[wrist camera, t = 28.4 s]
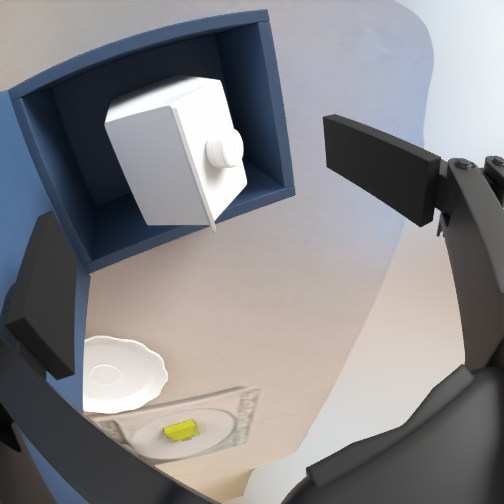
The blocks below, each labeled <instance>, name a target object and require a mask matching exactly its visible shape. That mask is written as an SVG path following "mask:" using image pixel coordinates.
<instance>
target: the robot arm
mask: <svg viewBox="0 0 504 504" xmlns="http://www.w3.org/2000/svg"><path fill="white" fill-rule="evenodd" d="M323 125H324V137H325V150H326V163H327V167H328V168H329V169H331V170H333V171H334V172H336V173H338V174H339V175H341V176H343V177H344V178H346V179H348V180H349V181H351V182H353V183H354V184H356V185H357V186H359V187H361V188H362V189H364V190H365V191H367V192H369V193H370V194H372V195H373V196H375V197H376V198H378V199H379V200H381V201H382V202H384V203H385V204H387V205H388V206H390V207H391V208H393V209H394V210H396V211H397V212H399V213H400V214H402V215H403V216H405V217H406V218H408V219H409V220H411V221H412V222H413V223H415V224H416V225H418V226H419V227H422V226H424V225H426V224H428V223H429V222H431V221H433V215H434V209H435V208H437V209H438V210H440V211H441V214H440V220H439V225H438V230H437V236H439V235H440V232H442V231H443V237H444V238H445V242H446V246H447V250H448V254H449V259H450V263H451V268H452V272H453V277H454V282H455V287H456V293H457V298H458V304H459V310H460V317H461V323H462V331H463V339H464V348H465V365H463V364H462V365H460V366H459V367H458V368H457V369H456V370H455V371H453V372H452V373H451V374H450V375H449V376H447V377H446V378H445V379H444V380H443V381H441V382H440V383H439V384H438V385H436V386H435V387H434V388H433V389H432V390H431V392H430V393H429V394H428V395H427V397H426V398H425V399H424V401H423V402H422V403H421V404H420V406H419V407H418V408H417V409H416V411H415V412H414V413H413V414H412V416H411V417H410V418H409V419H408V420H407V422H406V423H404V424H403V425H402V426H400V427H397V428H395V429H393V430H390V431H387V432H384V433H381V434H378V435H375V436H373V437H370V438H367V439H363V440H360V441H357V442H354V443H352V444H350V445H348V446H346V447H344V448H343V449H341V450H339V451H337V452H336V453H334V454H332V455H330V456H328V457H326V458H324V459H322V460H321V461H319V462H317V463H315V464H313V465H311V466H309V467H307V468H306V474H307V476H306V477H305V478H304V479H303V480H302V481H301V482H299V483H298V484H297V485H296V486H295V487H294V488H293V489H292V490H291V491H290V493H288V495H287V496H286V497H285V499H284V500H283V501H282V503H281V504H504V209H503V208H504V159H503V158H501V157H498V156H487V157H486V158H485V165H484V168H478V167H477V166H476V165H475V164H474V163H473V162H471V161H468V160H466V159H463V158H462V159H461V158H453V159H450V160H448V162H446V161H444V160H442V159H441V157H439V156H437V155H435V154H433V153H431V152H429V151H427V150H424V149H422V148H420V147H418V146H416V145H413V144H411V143H409V142H406V141H404V140H402V139H399V138H397V137H395V136H392V135H390V134H387V133H385V132H382V131H380V130H377V129H375V128H372V127H369V126H367V125H364V124H361V123H359V122H356V121H353V120H350V119H348V118H345V117H342V116H339V115H336V114H334V115H329V116H325V117H323ZM77 267H78V258H77V256H76V254H75V253H74V251H73V249H72V247H71V245H70V243H69V242H68V240H67V238H66V236H65V234H64V232H63V230H62V228H61V226H60V225H59V223H58V221H57V219H56V217H55V215H54V213H53V211H52V210H51V211H49V212H46V213H44V214H42V215H40V216H38V218H37V220H36V223H35V226H34V228H33V231H32V234H31V236H30V239H29V242H28V245H27V248H26V250H25V253H24V256H23V259H22V262H21V266H20V269H19V272H18V275H17V279H16V282H15V283H14V284H12V286H11V287H10V289H9V291H8V292H7V294H6V296H5V300H4V303H3V307H2V311H1V314H2V315H0V504H58V503H57V502H56V500H55V498H54V497H53V495H52V493H51V492H50V490H49V488H48V486H47V485H46V483H45V481H44V479H43V477H42V476H41V474H40V472H39V470H38V468H37V466H36V464H35V462H34V460H33V458H32V456H31V454H30V452H29V450H28V448H27V445H26V443H25V441H24V439H23V437H22V434H21V432H20V430H19V428H20V429H21V431H22V432H23V433H24V435H25V436H26V437H27V438H28V439H29V441H30V442H31V443H32V444H33V446H34V447H35V448H36V449H37V450H38V451H39V453H40V454H41V455H42V456H43V457H44V458H45V459H46V460H47V462H48V463H49V464H50V465H51V466H52V467H53V468H54V469H55V470H56V471H57V472H58V473H59V474H60V475H61V476H62V478H63V479H64V480H65V481H66V482H67V483H68V484H69V485H70V486H72V487H73V488H74V489H75V490H76V491H77V492H78V493H79V494H80V495H81V496H82V497H83V498H84V499H85V500H86V501H87V502H89V503H90V504H221V503H219V502H217V501H215V500H213V499H211V498H209V497H207V496H205V495H203V494H202V493H200V492H198V491H196V490H194V489H192V488H190V487H189V486H187V485H185V484H183V483H181V482H180V481H178V480H176V479H175V478H173V477H171V476H169V475H168V474H166V473H165V472H163V471H161V470H160V469H158V468H156V467H155V466H153V465H152V464H150V463H149V462H147V461H146V460H144V459H143V458H141V457H140V456H138V455H137V454H135V453H134V452H132V451H131V450H129V449H128V448H127V447H125V446H124V445H122V444H121V443H120V442H118V441H117V440H116V439H114V438H113V437H111V436H110V435H109V434H108V433H106V432H105V431H104V430H102V429H101V428H100V427H99V426H97V425H96V424H95V423H93V422H92V421H91V420H90V419H89V418H87V417H86V416H85V415H84V414H83V413H81V412H80V411H79V410H78V409H77V408H76V407H74V406H73V405H72V404H71V403H70V402H69V401H68V400H66V399H65V398H64V397H63V396H62V395H61V394H60V393H59V392H58V391H57V390H56V389H54V388H53V387H52V386H51V385H50V384H49V383H48V382H47V381H46V372H47V371H48V372H49V373H50V374H51V375H52V376H53V377H54V378H55V379H56V380H60V379H63V378H66V377H69V376H72V375H75V348H74V329H75V296H76V280H77Z"/></svg>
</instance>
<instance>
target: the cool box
mask: <svg viewBox="0 0 504 504" xmlns="http://www.w3.org/2000/svg"><path fill="white" fill-rule="evenodd" d="M174 75H185V76H194V77H201V78H209V79H215V80H220V82H221V84H222V87H223V90H224V94H225V98H226V101H227V105H228V109H229V112H230V116H231V120H232V124H233V128H234V129H235V130H237V131H238V132H239V134H240V136H241V138H242V142H243V156H242V162H243V166H244V170H245V175H246V179H247V185H246V186H245V187H244V188H243V190H242V191H241V192H240V193H239V194H238V195H237V196H236V197H235V198H234V200H233V201H232V202H231V203H230V204H229V205H228V206H227V207H226V209H225V210H224V211H223V212H222V213H221V214H220V215H219V216H218V218H217V219H216V220H215V221H214V222H215V224H217V223H219V222H222V221H225V220H227V219H230V218H233V217H236V216H238V215H241V214H244V213H247V212H249V211H252V210H255V209H258V208H260V207H263V206H266V205H269V204H272V203H274V202H277V201H280V200H283V199H286V198H289V197H292V196H294V195H296V194H295V186H294V177H293V169H292V161H291V154H290V146H289V139H288V132H287V125H286V118H285V111H284V104H283V97H282V91H281V85H280V78H279V72H278V66H277V60H276V54H275V48H274V43H273V37H272V32H271V26H270V22H269V15H268V10H267V9H264V10H254V11H246V12H238V13H231V14H225V15H219V16H213V17H207V18H202V19H197V20H192V21H188V22H183V23H179V24H174V25H170V26H166V27H162V28H159V29H155V30H151V31H148V32H144V33H141V34H137V35H134V36H131V37H128V38H125V39H122V40H119V41H116V42H113V43H110V44H107V45H104V46H102V47H99V48H96V49H94V50H91V51H88V52H86V53H83V54H81V55H78V56H76V57H74V58H71V59H69V60H67V61H64V62H62V63H60V64H58V65H56V66H53V67H51V68H49V69H47V70H45V71H43V72H41V73H39V74H37V75H35V76H33V77H31V78H29V79H27V80H25V81H23V82H22V83H20V84H18V85H16V86H14V87H12V88H11V89H9V90H8V93H9V96H10V99H11V103H12V106H13V109H14V112H15V115H16V118H17V121H18V124H19V126H20V129H21V132H22V135H23V137H24V140H25V143H26V145H27V148H28V150H29V153H30V155H31V158H32V160H33V163H34V165H35V168H36V170H37V172H38V175H39V177H40V179H41V182H42V184H43V186H44V188H45V190H46V193H47V195H48V197H49V199H50V201H51V203H52V205H53V208H54V210H55V212H56V214H57V216H58V218H59V220H60V222H61V224H62V226H63V228H64V230H65V232H66V234H67V235H68V237H69V239H70V241H71V243H72V245H73V247H74V249H75V250H76V252H77V254H78V256H79V258H80V259H81V261H82V263H83V265H84V267H85V268H86V270H87V272H88V273H89V274H90V273H92V272H95V271H97V270H100V269H102V268H104V267H107V266H109V265H112V264H114V263H117V262H119V261H122V260H124V259H126V258H129V257H131V256H134V255H136V254H139V253H141V252H144V251H146V250H149V249H151V248H154V247H157V246H159V245H162V244H164V243H167V242H169V241H172V240H175V239H177V238H180V237H182V236H185V235H188V234H190V233H193V232H195V231H198V230H201V229H203V228H206V227H209V225H147V223H146V222H145V220H144V218H143V215H142V213H141V211H140V209H139V207H138V204H137V202H136V200H135V198H134V196H133V193H132V191H131V189H130V186H129V184H128V182H127V180H126V177H125V175H124V173H123V170H122V168H121V166H120V163H119V161H118V158H117V156H116V153H115V151H114V149H113V146H112V144H111V141H110V139H109V136H108V134H107V131H106V128H105V124H104V123H105V120H106V116H107V113H108V109H109V105H110V102H111V100H112V99H114V98H117V97H119V96H121V95H124V94H126V93H129V92H131V91H134V90H136V89H139V88H141V87H144V86H146V85H149V84H152V83H154V82H157V81H160V80H163V79H166V78H168V77H171V76H174Z"/></svg>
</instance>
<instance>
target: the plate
mask: <svg viewBox="0 0 504 504" xmlns="http://www.w3.org/2000/svg"><path fill="white" fill-rule="evenodd" d="M167 381H168V373H167V371H166V370H165V368H164V360H163V359H162V358H161V356H160V355H159V354H157V353H155V352H153V351H151V350H149V349H148V348H147V347H145V346H144V345H143V344H142V343H140V342H137V341H134V340H126V339H117V338H113V337H110V336H94V337H91V338H88V339H85V340H84V361H83V411H87V412H100V413H105V414H111V413H118V412H122V411H127V410H134V409H137V408H139V407H142V406H143V405H144V404H146V403H147V402H148V401H151V400H153V399H155V398H156V397H157V396H158V395H159V394H160V393H161V391H162V388H163V386H164V384H165V383H166V382H167Z"/></svg>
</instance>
